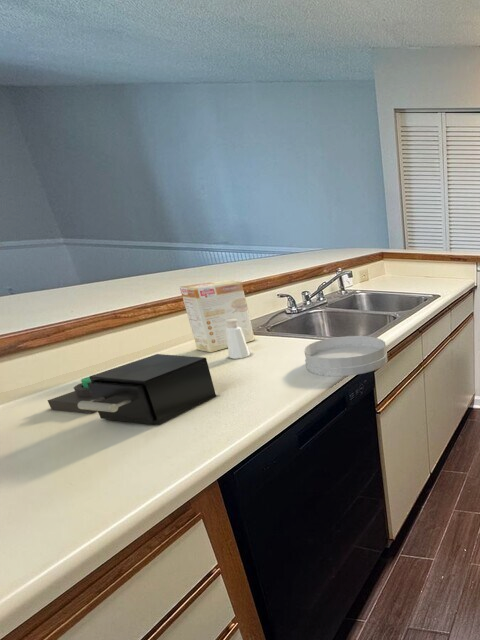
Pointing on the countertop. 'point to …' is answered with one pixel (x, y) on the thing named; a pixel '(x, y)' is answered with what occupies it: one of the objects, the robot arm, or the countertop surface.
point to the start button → (85, 382)
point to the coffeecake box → (216, 312)
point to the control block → (72, 400)
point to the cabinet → (166, 383)
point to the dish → (345, 355)
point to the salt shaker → (236, 340)
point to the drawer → (119, 401)
